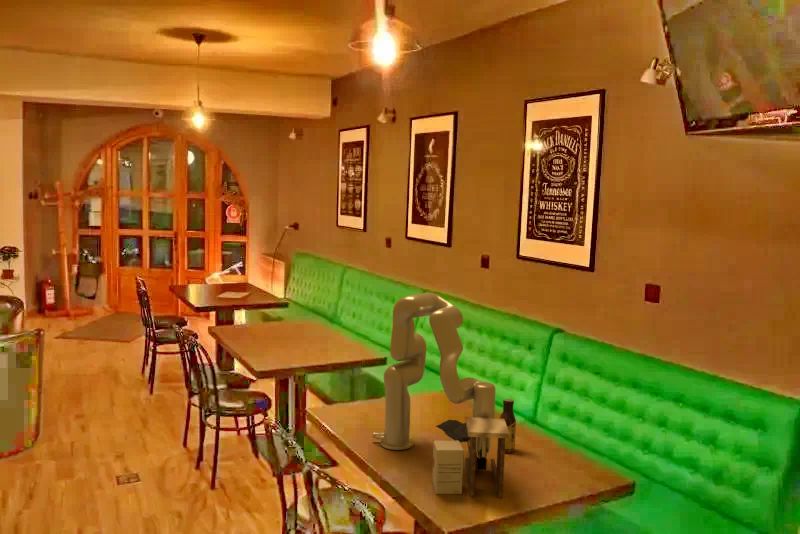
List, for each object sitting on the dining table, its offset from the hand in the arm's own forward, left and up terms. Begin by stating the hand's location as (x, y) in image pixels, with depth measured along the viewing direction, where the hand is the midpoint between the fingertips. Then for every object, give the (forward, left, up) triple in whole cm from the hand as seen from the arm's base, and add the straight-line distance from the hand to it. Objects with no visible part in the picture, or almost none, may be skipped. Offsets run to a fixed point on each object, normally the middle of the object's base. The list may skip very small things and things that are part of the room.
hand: (481, 468), depth 242 cm
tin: (-3, +5, -2) cm, 6 cm away
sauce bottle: (+11, +22, -1) cm, 24 cm away
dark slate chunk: (-5, +38, -2) cm, 39 cm away
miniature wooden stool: (0, -13, -1) cm, 13 cm away
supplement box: (-13, -15, -1) cm, 20 cm away
